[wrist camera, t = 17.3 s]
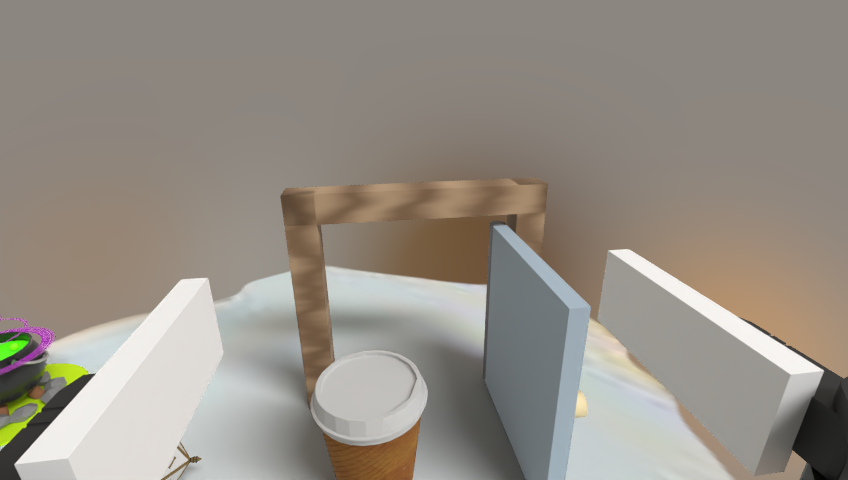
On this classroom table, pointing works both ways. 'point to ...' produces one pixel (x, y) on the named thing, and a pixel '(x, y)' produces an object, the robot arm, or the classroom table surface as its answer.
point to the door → (533, 354)
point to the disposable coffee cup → (370, 414)
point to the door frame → (387, 203)
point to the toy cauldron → (28, 379)
